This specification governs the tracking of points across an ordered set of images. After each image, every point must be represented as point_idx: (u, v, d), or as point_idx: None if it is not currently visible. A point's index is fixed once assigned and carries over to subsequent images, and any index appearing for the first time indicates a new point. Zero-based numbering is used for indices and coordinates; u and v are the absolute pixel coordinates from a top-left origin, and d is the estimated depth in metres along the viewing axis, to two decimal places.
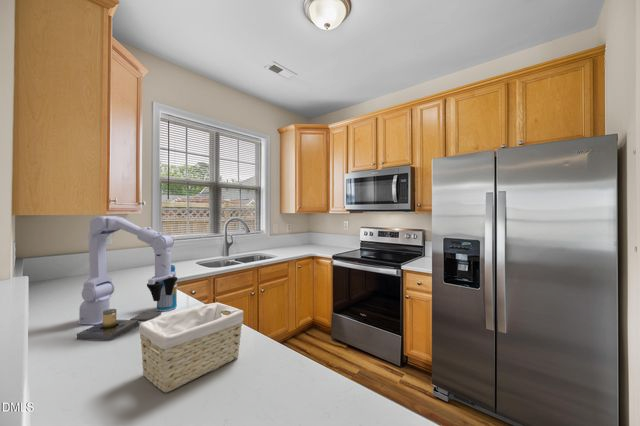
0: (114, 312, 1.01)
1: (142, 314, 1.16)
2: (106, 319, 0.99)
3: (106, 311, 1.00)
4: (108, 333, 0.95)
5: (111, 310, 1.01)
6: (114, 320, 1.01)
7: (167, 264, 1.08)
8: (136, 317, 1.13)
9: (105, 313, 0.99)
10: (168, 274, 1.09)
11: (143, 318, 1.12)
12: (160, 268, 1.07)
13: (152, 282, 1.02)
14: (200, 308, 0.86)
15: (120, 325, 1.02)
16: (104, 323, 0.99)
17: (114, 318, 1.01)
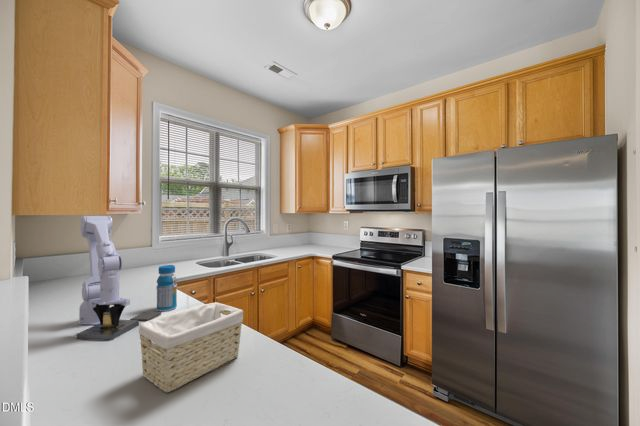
0: None
1: (142, 314, 1.16)
2: (106, 319, 0.99)
3: (106, 311, 1.00)
4: (108, 333, 0.95)
5: None
6: None
7: (108, 289, 0.98)
8: (136, 317, 1.13)
9: (105, 313, 0.99)
10: (101, 300, 0.98)
11: (143, 318, 1.12)
12: None
13: None
14: (199, 308, 0.86)
15: (120, 325, 1.02)
16: (104, 323, 0.99)
17: None
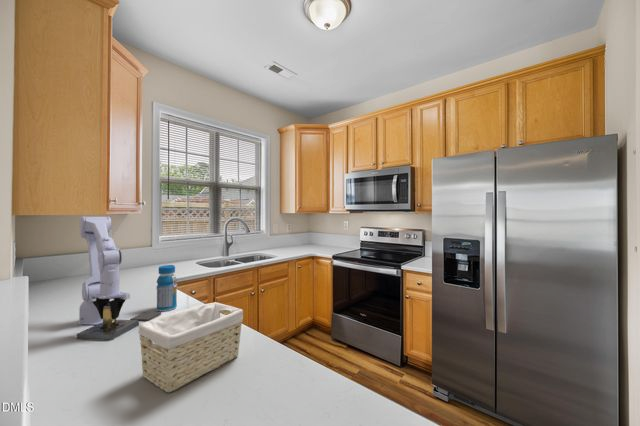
0: None
1: (142, 314, 1.16)
2: (106, 312, 0.99)
3: (106, 305, 1.00)
4: (108, 333, 0.95)
5: None
6: None
7: (108, 282, 0.99)
8: (136, 317, 1.13)
9: (105, 307, 0.99)
10: (101, 294, 0.98)
11: (143, 318, 1.12)
12: None
13: None
14: (198, 308, 0.86)
15: (120, 325, 1.02)
16: (104, 317, 0.99)
17: None
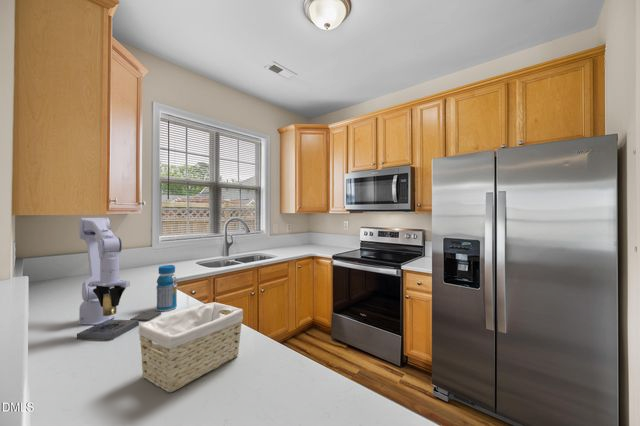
0: None
1: (142, 314, 1.16)
2: (106, 300, 0.99)
3: (106, 293, 1.00)
4: (108, 333, 0.95)
5: None
6: None
7: (108, 270, 0.99)
8: (136, 317, 1.13)
9: (105, 295, 0.99)
10: (101, 281, 0.98)
11: (143, 318, 1.12)
12: None
13: None
14: (198, 308, 0.86)
15: (120, 325, 1.02)
16: (104, 305, 0.99)
17: None
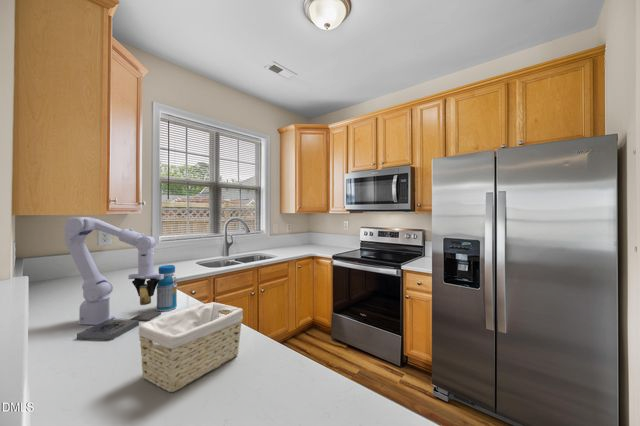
0: None
1: (142, 314, 1.16)
2: (143, 291, 1.13)
3: (142, 285, 1.14)
4: (108, 333, 0.95)
5: (146, 284, 1.15)
6: None
7: (152, 263, 1.15)
8: (136, 317, 1.13)
9: (141, 287, 1.13)
10: (140, 274, 1.12)
11: (143, 318, 1.12)
12: None
13: None
14: (197, 308, 0.86)
15: (120, 325, 1.02)
16: (141, 295, 1.13)
17: None
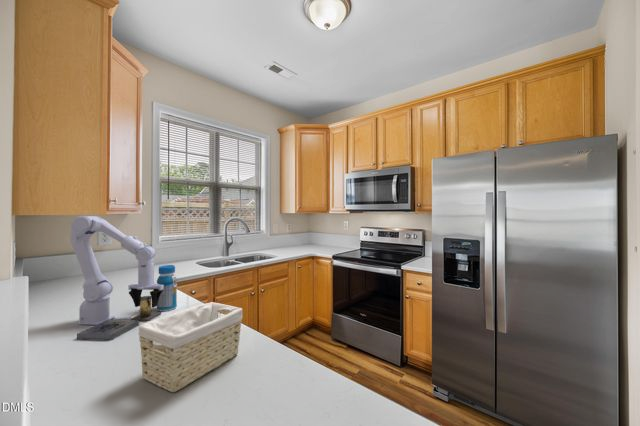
0: (149, 298, 1.14)
1: None
2: (143, 304, 1.13)
3: (143, 297, 1.14)
4: (108, 333, 0.95)
5: (147, 297, 1.15)
6: (149, 305, 1.14)
7: (151, 274, 1.15)
8: (136, 317, 1.13)
9: (142, 299, 1.13)
10: (140, 285, 1.12)
11: (143, 318, 1.12)
12: None
13: None
14: (196, 308, 0.86)
15: (120, 325, 1.02)
16: (141, 308, 1.13)
17: (149, 304, 1.14)
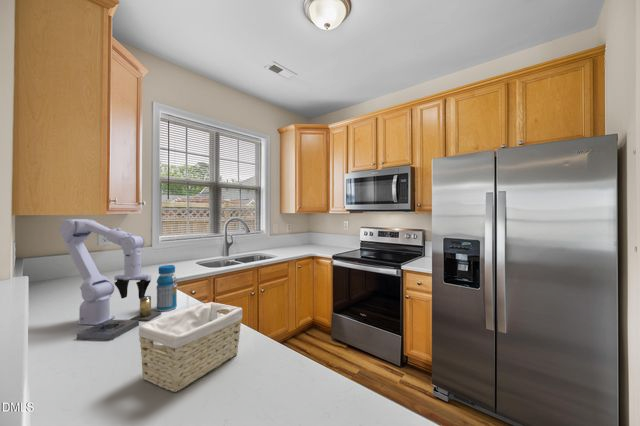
0: (149, 298, 1.14)
1: None
2: (143, 304, 1.13)
3: None
4: (108, 333, 0.95)
5: (146, 297, 1.15)
6: (149, 305, 1.14)
7: (137, 264, 1.09)
8: (136, 317, 1.13)
9: (141, 299, 1.13)
10: (126, 275, 1.08)
11: (143, 318, 1.12)
12: None
13: None
14: (195, 308, 0.86)
15: (120, 325, 1.02)
16: (141, 308, 1.13)
17: (149, 304, 1.14)
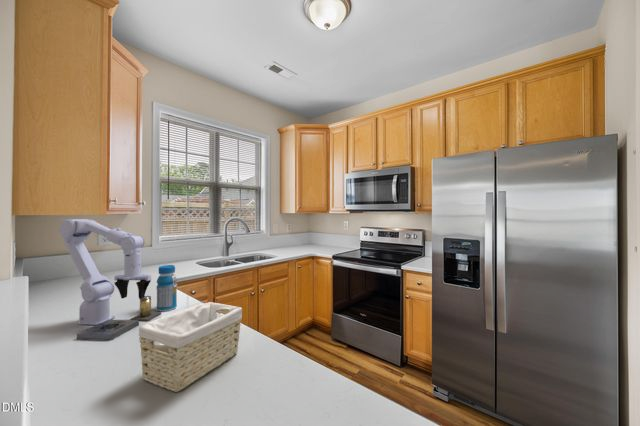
0: (149, 298, 1.14)
1: None
2: (143, 304, 1.13)
3: None
4: (108, 333, 0.95)
5: (146, 297, 1.15)
6: (149, 305, 1.14)
7: (137, 264, 1.09)
8: (136, 317, 1.13)
9: (141, 299, 1.13)
10: (126, 275, 1.08)
11: (143, 318, 1.12)
12: None
13: None
14: (195, 308, 0.86)
15: (120, 325, 1.02)
16: (141, 308, 1.13)
17: (149, 304, 1.14)
